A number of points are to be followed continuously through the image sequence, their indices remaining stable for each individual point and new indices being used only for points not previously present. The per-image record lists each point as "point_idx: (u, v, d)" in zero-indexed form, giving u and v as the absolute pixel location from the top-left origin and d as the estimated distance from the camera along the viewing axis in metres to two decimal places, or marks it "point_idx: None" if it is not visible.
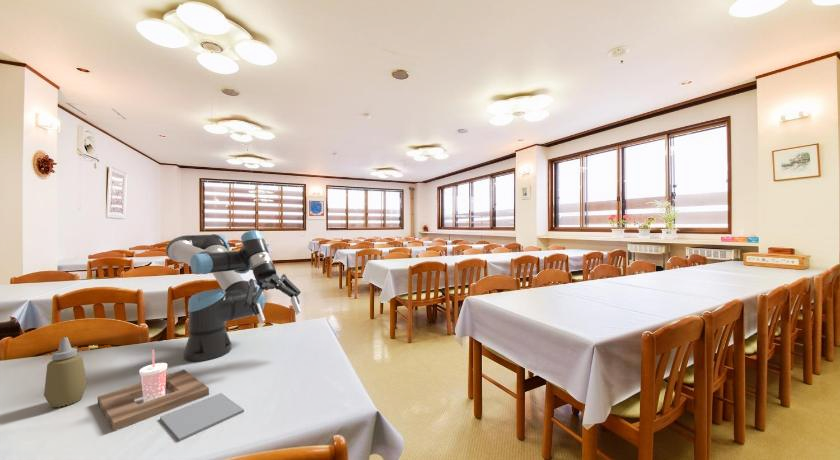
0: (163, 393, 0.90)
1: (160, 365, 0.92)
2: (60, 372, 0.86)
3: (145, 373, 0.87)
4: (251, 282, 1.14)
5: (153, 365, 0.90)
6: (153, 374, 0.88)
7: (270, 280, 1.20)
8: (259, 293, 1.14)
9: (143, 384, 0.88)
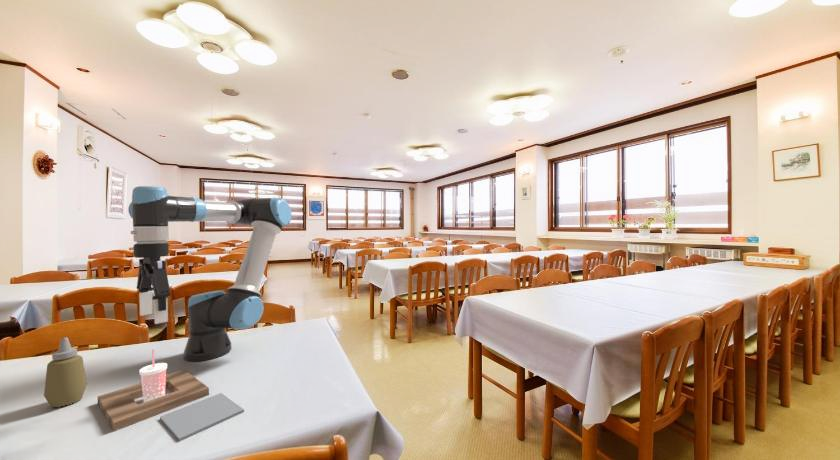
0: (163, 393, 0.90)
1: (160, 365, 0.92)
2: (60, 372, 0.86)
3: (145, 373, 0.87)
4: (139, 264, 0.93)
5: (153, 365, 0.90)
6: (153, 374, 0.88)
7: None
8: (141, 280, 0.92)
9: (143, 384, 0.88)
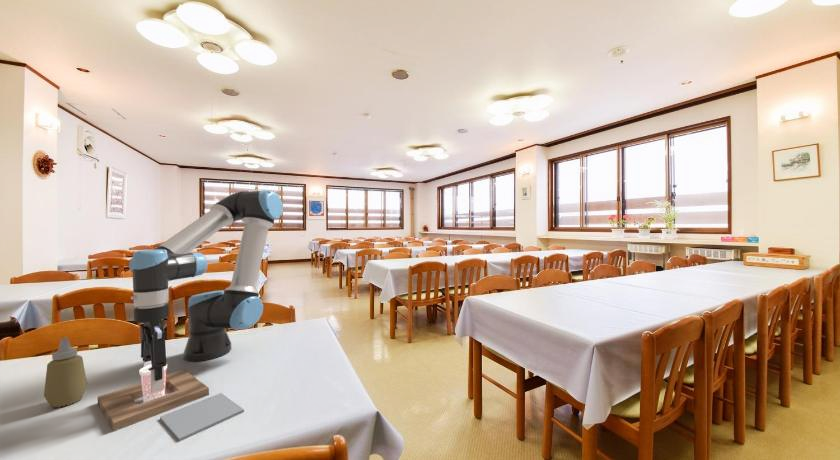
0: (163, 393, 0.90)
1: None
2: (60, 372, 0.86)
3: (145, 373, 0.87)
4: (140, 329, 0.93)
5: None
6: None
7: None
8: (144, 347, 0.91)
9: (143, 384, 0.88)
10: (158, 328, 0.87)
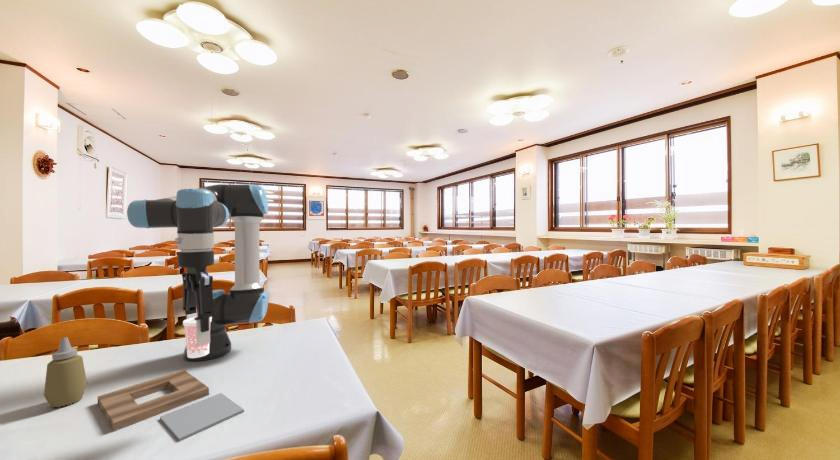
0: (208, 347, 0.82)
1: None
2: (60, 372, 0.86)
3: (190, 323, 0.79)
4: (183, 279, 0.84)
5: None
6: None
7: None
8: (187, 297, 0.83)
9: (187, 336, 0.79)
10: (204, 274, 0.79)
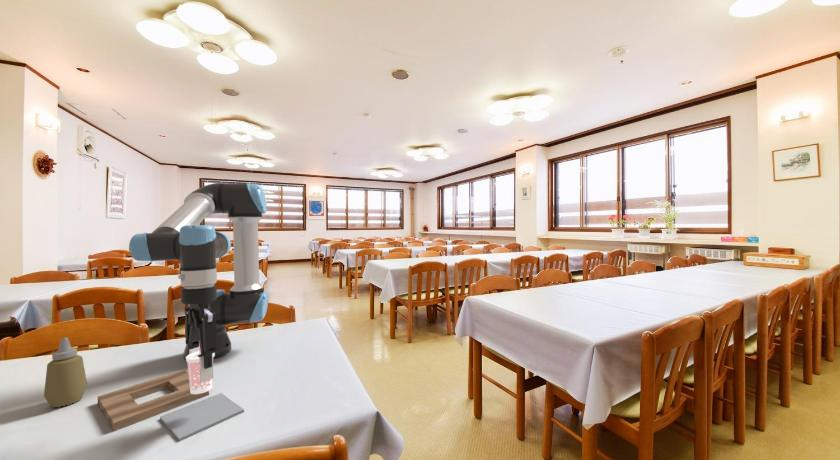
0: (211, 382, 0.82)
1: None
2: (60, 372, 0.86)
3: (193, 360, 0.79)
4: (185, 313, 0.84)
5: (200, 352, 0.82)
6: None
7: None
8: (190, 332, 0.83)
9: (190, 372, 0.79)
10: (208, 310, 0.79)
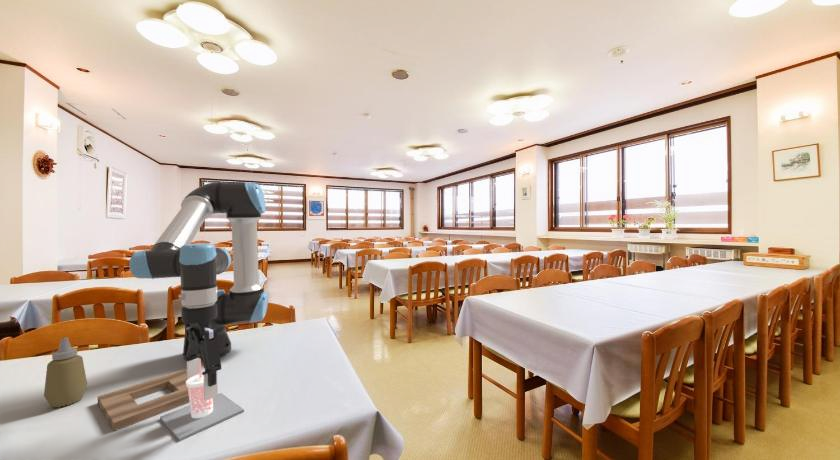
0: (211, 406, 0.82)
1: None
2: (60, 372, 0.86)
3: (193, 385, 0.79)
4: (185, 327, 0.85)
5: (200, 376, 0.82)
6: (201, 386, 0.80)
7: None
8: (188, 347, 0.84)
9: (191, 397, 0.80)
10: (208, 328, 0.79)
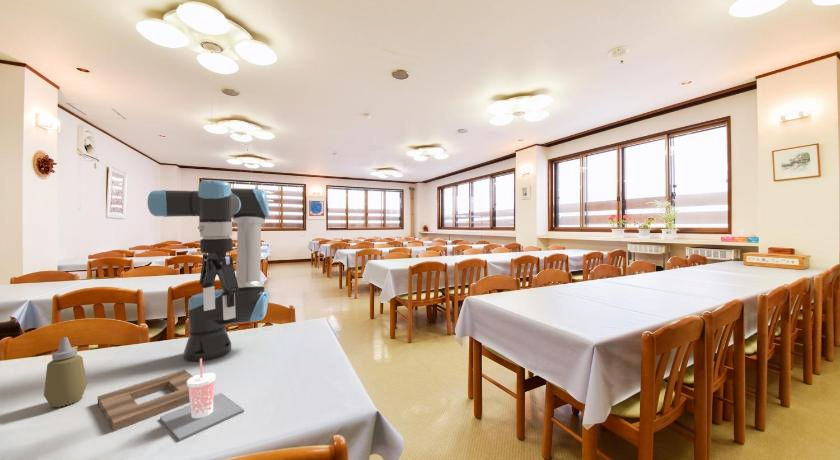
0: (211, 406, 0.82)
1: (208, 375, 0.83)
2: (60, 372, 0.86)
3: (194, 384, 0.79)
4: (203, 259, 0.92)
5: (201, 376, 0.82)
6: (202, 386, 0.80)
7: None
8: (205, 276, 0.91)
9: (191, 397, 0.80)
10: None
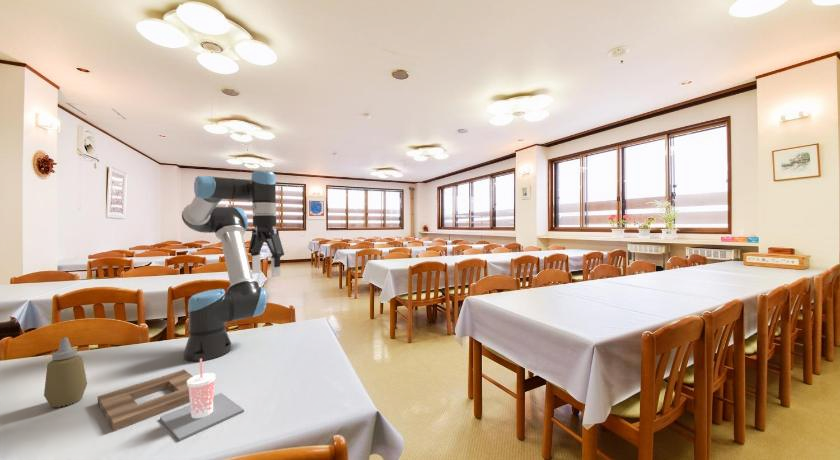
0: (211, 406, 0.82)
1: (208, 375, 0.83)
2: (60, 372, 0.86)
3: (194, 384, 0.79)
4: (252, 232, 1.17)
5: (201, 376, 0.82)
6: (202, 386, 0.80)
7: None
8: (254, 246, 1.16)
9: (191, 397, 0.80)
10: None
